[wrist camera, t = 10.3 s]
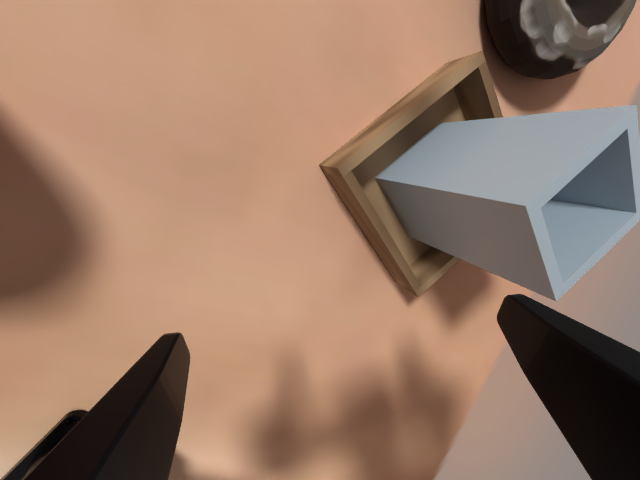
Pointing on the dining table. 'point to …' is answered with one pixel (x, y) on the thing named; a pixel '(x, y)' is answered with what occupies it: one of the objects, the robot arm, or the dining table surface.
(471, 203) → the tall grey bin
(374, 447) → the dining table surface
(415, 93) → the shallow brown tray
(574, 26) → the donut
